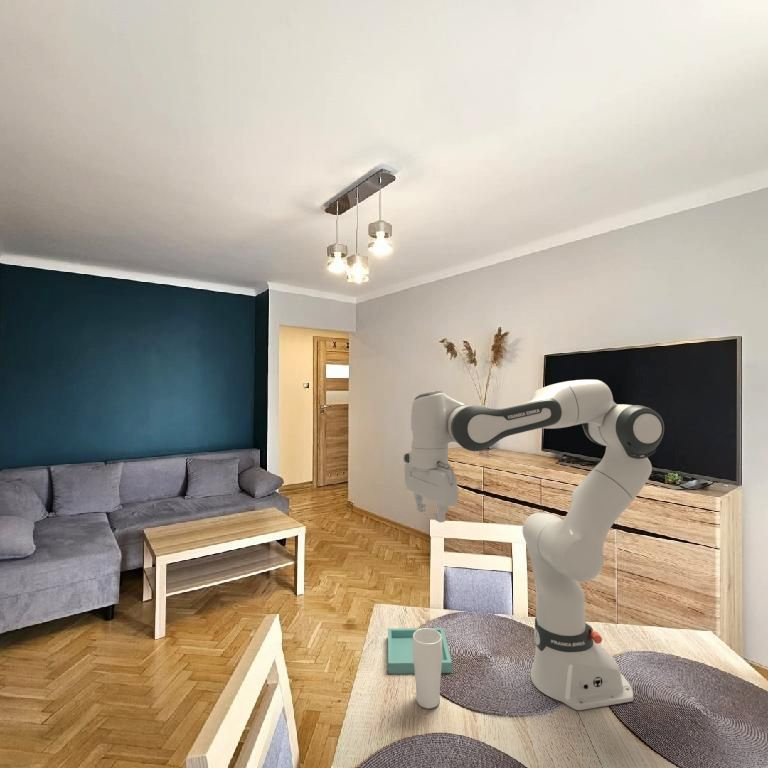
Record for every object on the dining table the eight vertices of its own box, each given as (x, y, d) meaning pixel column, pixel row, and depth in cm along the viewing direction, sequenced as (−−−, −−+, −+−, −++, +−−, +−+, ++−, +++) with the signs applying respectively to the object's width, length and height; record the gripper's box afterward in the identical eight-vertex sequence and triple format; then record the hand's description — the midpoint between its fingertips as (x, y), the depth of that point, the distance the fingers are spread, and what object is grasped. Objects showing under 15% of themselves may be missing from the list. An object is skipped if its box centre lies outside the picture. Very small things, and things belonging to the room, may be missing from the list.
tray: (443, 637, 126) (443, 628, 126) (451, 673, 110) (451, 662, 110) (387, 637, 126) (387, 628, 126) (388, 673, 110) (388, 663, 110)
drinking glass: (442, 714, 96) (441, 645, 96) (411, 710, 97) (410, 642, 97) (444, 693, 103) (443, 629, 103) (415, 689, 104) (414, 626, 104)
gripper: (465, 464, 97) (465, 526, 97) (421, 452, 116) (422, 504, 116) (440, 466, 95) (441, 530, 94) (400, 454, 113) (400, 507, 113)
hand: (430, 516), depth 105 cm, fingers open, 8 cm apart
